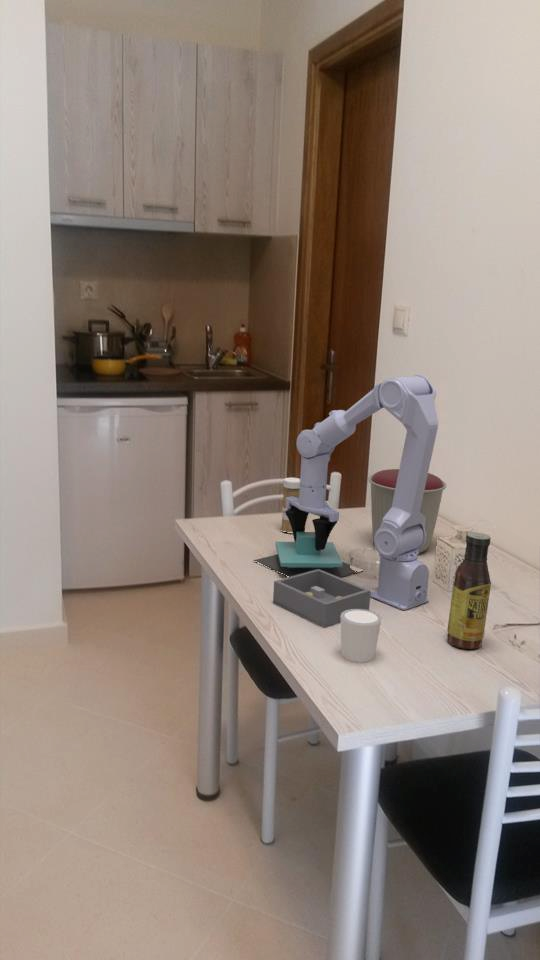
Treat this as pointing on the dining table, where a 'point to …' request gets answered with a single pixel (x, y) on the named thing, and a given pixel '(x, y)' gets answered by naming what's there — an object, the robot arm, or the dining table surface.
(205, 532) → the dining table surface
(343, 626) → the white cup
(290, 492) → the sprinkles bottle
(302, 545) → the lid
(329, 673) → the dining table surface
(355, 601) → the tub
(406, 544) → the robot arm
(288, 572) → the mat
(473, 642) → the sauce bottle
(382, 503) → the canister
